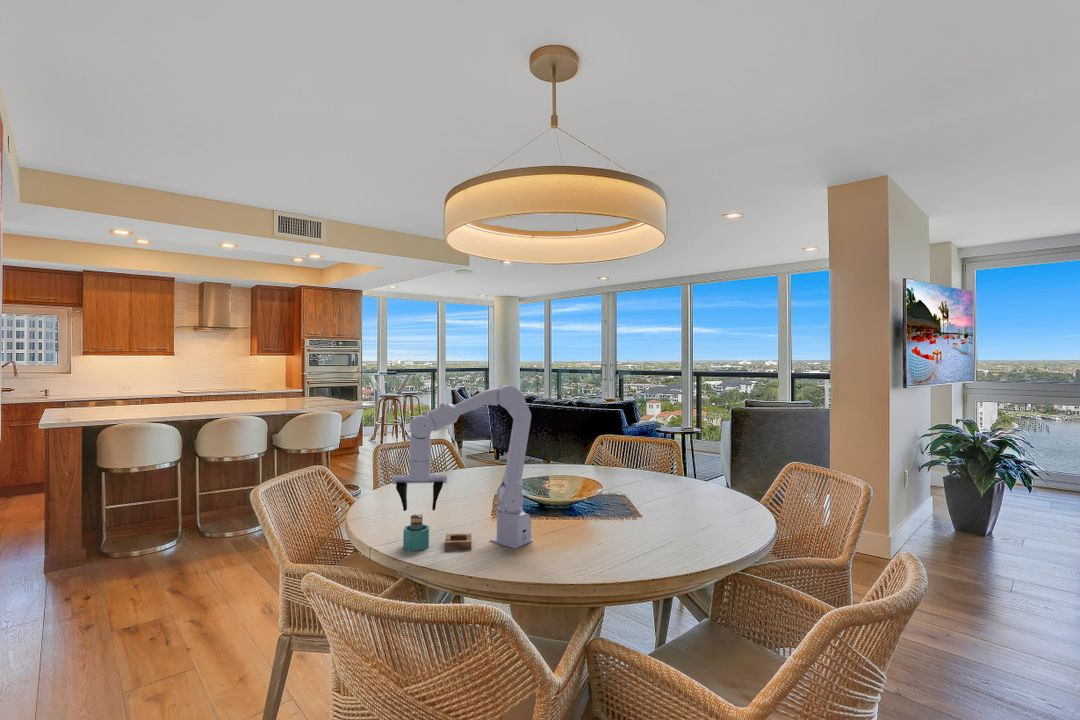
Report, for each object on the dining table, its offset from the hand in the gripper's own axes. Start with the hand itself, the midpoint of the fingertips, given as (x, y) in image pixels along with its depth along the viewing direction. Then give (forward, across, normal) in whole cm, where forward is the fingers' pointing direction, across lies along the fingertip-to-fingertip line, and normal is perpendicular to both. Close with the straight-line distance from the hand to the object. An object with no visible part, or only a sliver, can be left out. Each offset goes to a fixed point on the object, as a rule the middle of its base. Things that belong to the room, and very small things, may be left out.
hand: (419, 509), depth 146 cm
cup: (+10, +1, 0) cm, 10 cm away
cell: (+9, +1, 0) cm, 9 cm away
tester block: (+10, -11, 0) cm, 14 cm away
